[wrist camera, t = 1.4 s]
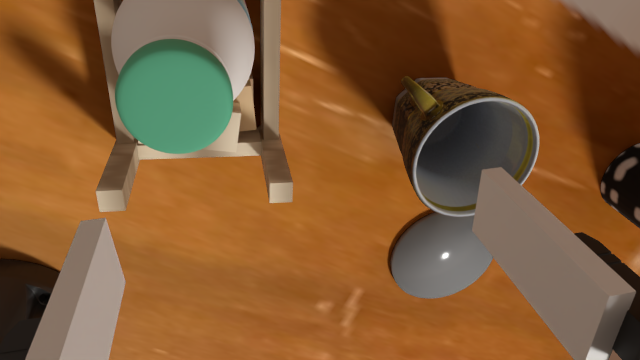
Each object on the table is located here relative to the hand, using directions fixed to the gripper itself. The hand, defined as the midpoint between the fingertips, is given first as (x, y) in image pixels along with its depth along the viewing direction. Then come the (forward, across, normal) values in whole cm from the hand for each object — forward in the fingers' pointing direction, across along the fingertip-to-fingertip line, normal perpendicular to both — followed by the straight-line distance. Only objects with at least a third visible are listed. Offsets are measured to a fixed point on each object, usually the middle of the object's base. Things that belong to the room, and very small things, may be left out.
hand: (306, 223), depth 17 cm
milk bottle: (+25, -4, +3) cm, 26 cm away
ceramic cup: (+25, +14, -6) cm, 29 cm away
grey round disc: (+25, +18, -25) cm, 40 cm away
